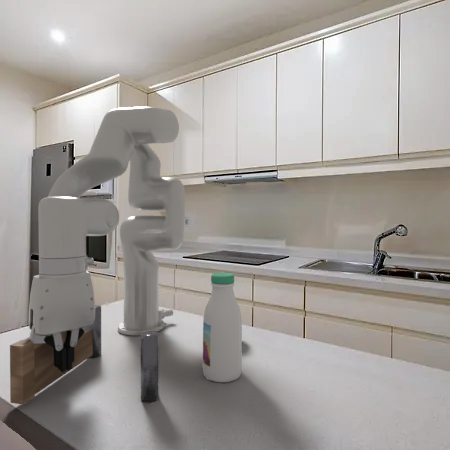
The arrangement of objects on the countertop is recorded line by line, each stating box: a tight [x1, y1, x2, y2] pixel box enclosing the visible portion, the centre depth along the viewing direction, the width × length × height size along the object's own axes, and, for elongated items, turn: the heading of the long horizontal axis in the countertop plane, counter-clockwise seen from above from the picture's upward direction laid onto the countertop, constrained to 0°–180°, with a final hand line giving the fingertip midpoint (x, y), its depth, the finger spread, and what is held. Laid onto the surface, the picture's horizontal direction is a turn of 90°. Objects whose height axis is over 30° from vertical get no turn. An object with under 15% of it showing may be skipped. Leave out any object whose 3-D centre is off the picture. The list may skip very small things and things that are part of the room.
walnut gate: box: [9, 330, 93, 406], centre depth 62 cm, size 2×19×9 cm, turn 169°
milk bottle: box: [202, 272, 243, 383], centre depth 64 cm, size 8×8×20 cm
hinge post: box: [88, 304, 102, 359], centre depth 73 cm, size 3×3×11 cm
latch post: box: [140, 331, 159, 403], centre depth 56 cm, size 3×3×11 cm
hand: (64, 368), depth 58 cm, fingers closed
